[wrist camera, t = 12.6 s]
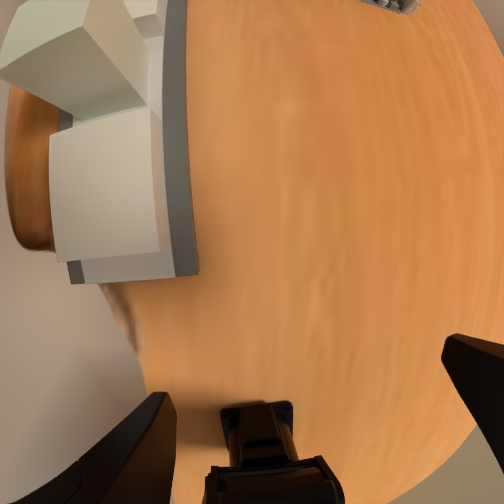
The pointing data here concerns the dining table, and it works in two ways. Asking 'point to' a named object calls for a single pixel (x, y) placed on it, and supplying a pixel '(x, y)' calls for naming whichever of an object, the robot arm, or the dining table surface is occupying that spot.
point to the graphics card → (396, 5)
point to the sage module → (77, 56)
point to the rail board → (130, 171)
